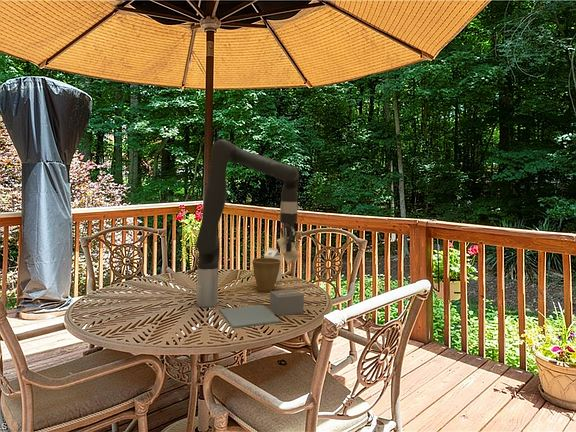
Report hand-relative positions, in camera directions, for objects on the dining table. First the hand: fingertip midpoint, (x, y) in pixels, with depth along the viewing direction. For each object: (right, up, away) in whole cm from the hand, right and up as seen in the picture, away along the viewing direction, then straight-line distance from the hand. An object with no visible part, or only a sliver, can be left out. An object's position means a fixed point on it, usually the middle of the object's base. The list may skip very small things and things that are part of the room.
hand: (287, 251), depth 178 cm
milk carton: (-9, -22, +55) cm, 60 cm away
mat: (-17, -27, -6) cm, 32 cm away
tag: (+2, -5, +2) cm, 5 cm away
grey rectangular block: (-1, -27, +2) cm, 27 cm away
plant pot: (-12, -24, +36) cm, 44 cm away
